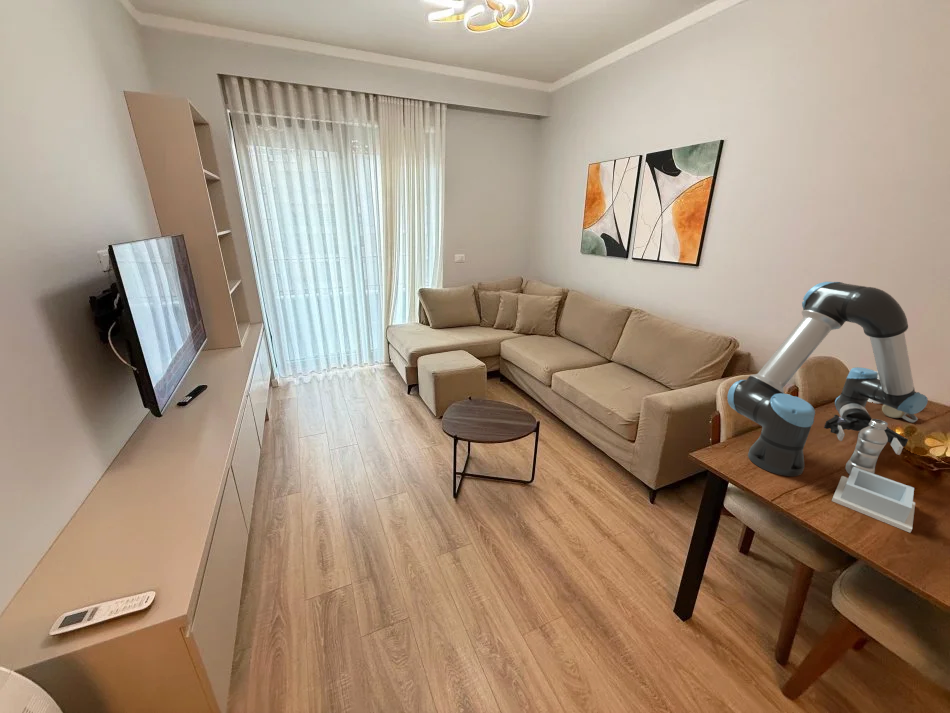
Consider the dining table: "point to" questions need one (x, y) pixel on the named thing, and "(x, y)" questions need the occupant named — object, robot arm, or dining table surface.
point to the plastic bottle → (868, 446)
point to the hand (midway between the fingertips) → (870, 443)
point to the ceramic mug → (898, 414)
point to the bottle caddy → (877, 498)
